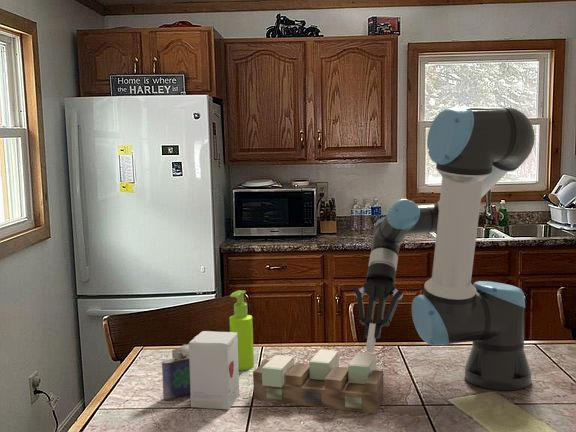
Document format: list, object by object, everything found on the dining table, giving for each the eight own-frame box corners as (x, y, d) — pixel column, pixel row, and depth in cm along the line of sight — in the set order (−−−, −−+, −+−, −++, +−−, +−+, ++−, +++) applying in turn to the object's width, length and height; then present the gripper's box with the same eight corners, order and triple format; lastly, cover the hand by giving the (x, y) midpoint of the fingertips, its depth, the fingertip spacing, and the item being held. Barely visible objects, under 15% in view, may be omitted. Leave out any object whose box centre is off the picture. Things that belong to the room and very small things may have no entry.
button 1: (294, 373, 149) (293, 356, 149) (281, 387, 141) (281, 369, 140) (276, 371, 151) (275, 354, 150) (262, 385, 142) (261, 367, 142)
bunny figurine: (208, 340, 177) (205, 351, 162) (209, 358, 177) (206, 371, 162) (174, 341, 176) (167, 353, 161) (174, 360, 176) (168, 373, 161)
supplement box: (229, 410, 139) (226, 343, 138) (190, 408, 141) (187, 342, 139) (240, 394, 148) (238, 331, 146) (203, 392, 150) (201, 330, 148)
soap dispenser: (225, 370, 164) (222, 293, 162) (237, 361, 171) (234, 287, 168) (246, 372, 162) (243, 295, 160) (257, 363, 168) (255, 289, 166)
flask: (165, 401, 145) (163, 356, 144) (161, 397, 147) (159, 352, 146) (203, 393, 150) (201, 348, 148) (198, 389, 152) (196, 345, 151)
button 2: (376, 370, 149) (376, 353, 149) (368, 384, 141) (368, 367, 140) (357, 368, 151) (357, 352, 150) (348, 382, 142) (348, 365, 142)
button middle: (338, 367, 152) (338, 350, 152) (328, 380, 144) (328, 363, 143) (320, 365, 154) (320, 349, 153) (309, 378, 145) (309, 361, 145)
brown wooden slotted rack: (383, 399, 143) (383, 371, 143) (376, 414, 136) (376, 384, 135) (266, 386, 152) (265, 360, 152) (253, 400, 145) (252, 372, 144)
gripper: (408, 277, 172) (398, 358, 158) (360, 275, 176) (347, 354, 163) (404, 262, 166) (394, 344, 153) (355, 260, 171) (341, 340, 157)
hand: (369, 349), depth 158 cm, fingers closed
